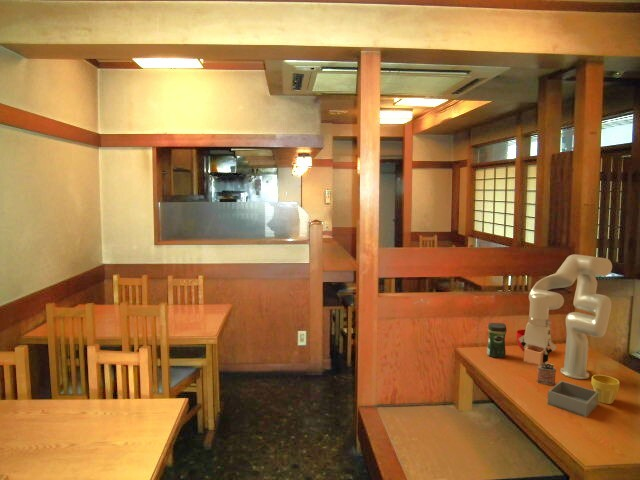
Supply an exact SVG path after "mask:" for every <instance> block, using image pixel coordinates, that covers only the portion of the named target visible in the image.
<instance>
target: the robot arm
mask: <svg viewBox="0 0 640 480" xmlns="http://www.w3.org/2000/svg"><path fill="white" fill-rule="evenodd" d="M612 269H613V264H612V262H611V260H610V259H608V258H606V257H605V258H604V257H599V256H597V257H596V256H592V255H591V256H590V255H583V254H574V253H573V254H571V255H568V256H567V257H566V259H565V260H564V261H563V262H562V264H561V265H560V267H559V268H558V269H557V270H556V272H554V273H553V274H550V275H548V276H545V277H543V278H540V280H537V281H536V282H535V284H534V285H533V286H532V288H531V290H530V291H529V294H528V300H529V301H528V302H529V314H528V315H529V317H528V322H526V326H525V329H524V330H525V335H524V336H522V337H520V338H518V339H519V341H520V342H521V344H522V345H523V347H524V349H525V348H526V347H528V346H530V345H532V346H536V347H539V348H542V349H543V351H544V354H543V363H547V362H548V361H549V354H551V353H552V352H554V351H555V350H556V349H557V347H558V346H556V345H555V344H554V342H553V341H552V335H551V333H552V332H551V326H550V325H552V321H550V320H549V310H559V309H560V308H561V307H562V306H563V305H564V304H565V298H564V297H563V295H562V294H560V293H558V292H555V291H550V290H552V289H560V288H561V289H562V288H568V287H571V286H573V284H574V283H575V282H576V280H577V283H576V286H575V287H576V288H575V293H574V297H573V303H572V304H573V306H574V308H575V309H577V310H580V311H582V312H577V311H573V312H569V313H568V314H566V317H565V330H566V338H565V339H566V340H565V349H564V350H565V352H564V363H563V364H564V366H563V367H561V368H560V373H561V374H562V375H563V376H565V377H568V378H571V379H576V380H586V379H587V380H588V379H589V378H590V373H589V372H588V371H587V365H588V364H587V362H588V352H589V339H588V337H587V335H588V336H591V337H595V338H602V337H604V336H605V335H606V332H607V329H608V325H609V320H610V315H611V311H612V301H611V298H610V297H609V296H607V295H604V294H600V293H597V289H598V288H597V287H598V281H597V279H596V277H595V276H598V277H607V276H608V275H609V274H611V272H612ZM583 312H587V313H592V314H595V315H590V314H587V313H583ZM523 339H524V340H523ZM549 347H550V348H549ZM548 348H549V349H548Z"/></svg>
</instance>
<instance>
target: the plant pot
mask: <svg viewBox="0 0 640 480" xmlns="http://www.w3.org/2000/svg"><path fill="white" fill-rule="evenodd" d="M620 384H621V383H620V380H619V379H617V378H615V377H612V376H609V375H605V374H594V375H592V376H591V385H592V388H593V389H592V390H594V391H597V392H599V394H598V402H599V403H601V404H606V405H612V404H613V403H614V400H615V398H616V395H617V392H619V390H620Z"/></svg>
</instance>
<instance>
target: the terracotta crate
mask: <svg viewBox="0 0 640 480" xmlns="http://www.w3.org/2000/svg"><path fill="white" fill-rule="evenodd" d="M548 349H550V348H549V347H548ZM543 354H544V351H543V349H542V348H539V347H536V346H532V345H530V346H528V347H526V348H525V349H524V351H523V362H524V363H528V364H531V365H534V366H537V367H538V366H541V365H542V364H544V363H543Z"/></svg>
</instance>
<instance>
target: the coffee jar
mask: <svg viewBox="0 0 640 480" xmlns="http://www.w3.org/2000/svg"><path fill="white" fill-rule="evenodd" d="M487 332H488V342H487V346H486V354H487V356H489V357H492V358H505V357H506V355H507V354H506V334H507V325H506V324H505V323H504V322H488V327H487Z"/></svg>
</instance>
